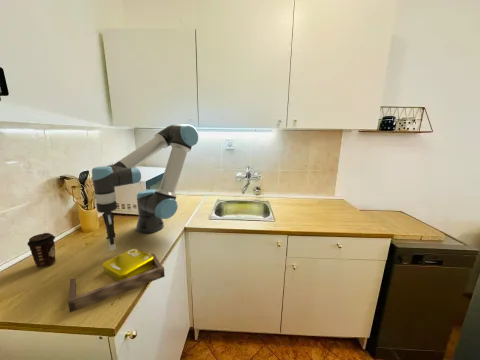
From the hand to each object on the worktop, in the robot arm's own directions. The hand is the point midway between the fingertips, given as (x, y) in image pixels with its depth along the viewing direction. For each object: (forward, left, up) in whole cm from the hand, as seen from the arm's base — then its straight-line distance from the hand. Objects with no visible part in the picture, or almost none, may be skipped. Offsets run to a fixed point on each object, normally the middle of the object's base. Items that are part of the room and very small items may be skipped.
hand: (112, 249), depth 99 cm
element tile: (-4, +16, -3) cm, 16 cm away
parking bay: (0, +22, -3) cm, 22 cm away
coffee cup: (+24, -8, -3) cm, 26 cm away
